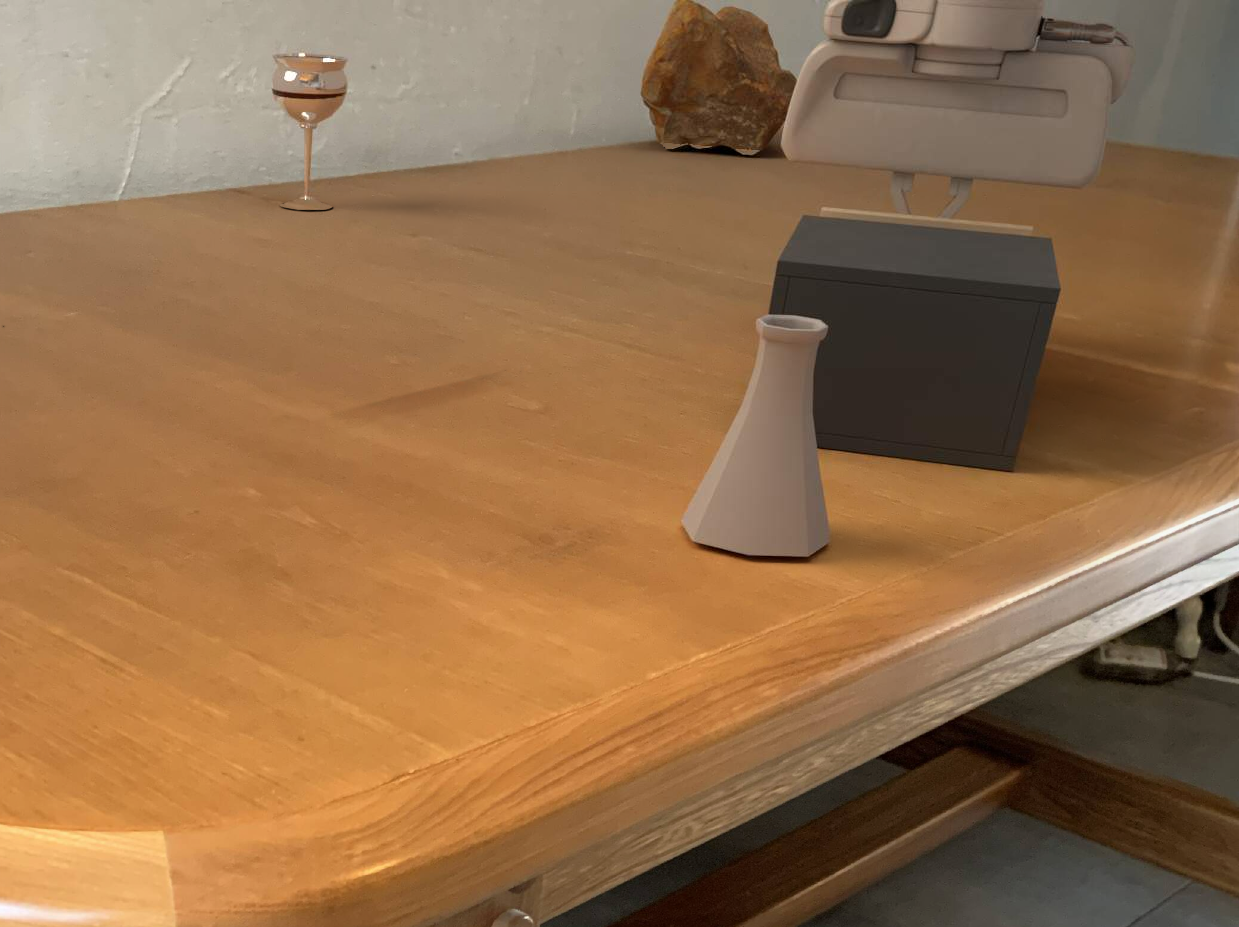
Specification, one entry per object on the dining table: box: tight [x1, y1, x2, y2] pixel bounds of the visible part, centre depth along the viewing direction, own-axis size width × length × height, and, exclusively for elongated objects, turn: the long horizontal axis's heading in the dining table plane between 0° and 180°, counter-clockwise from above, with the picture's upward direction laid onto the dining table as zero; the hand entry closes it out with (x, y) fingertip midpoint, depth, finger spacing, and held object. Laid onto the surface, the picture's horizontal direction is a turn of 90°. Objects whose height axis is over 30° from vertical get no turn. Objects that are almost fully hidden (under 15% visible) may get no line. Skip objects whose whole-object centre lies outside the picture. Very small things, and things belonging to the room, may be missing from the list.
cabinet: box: [767, 214, 1062, 473], centre depth 98 cm, size 16×15×10 cm
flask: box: [680, 314, 832, 557], centre depth 79 cm, size 7×7×10 cm
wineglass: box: [271, 52, 349, 200], centre depth 151 cm, size 7×7×12 cm
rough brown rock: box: [640, 0, 798, 150], centre depth 193 cm, size 23×17×15 cm
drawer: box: [819, 206, 1035, 236], centre depth 109 cm, size 19×13×8 cm
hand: (916, 247), depth 114 cm, fingers closed, pressing on drawer
